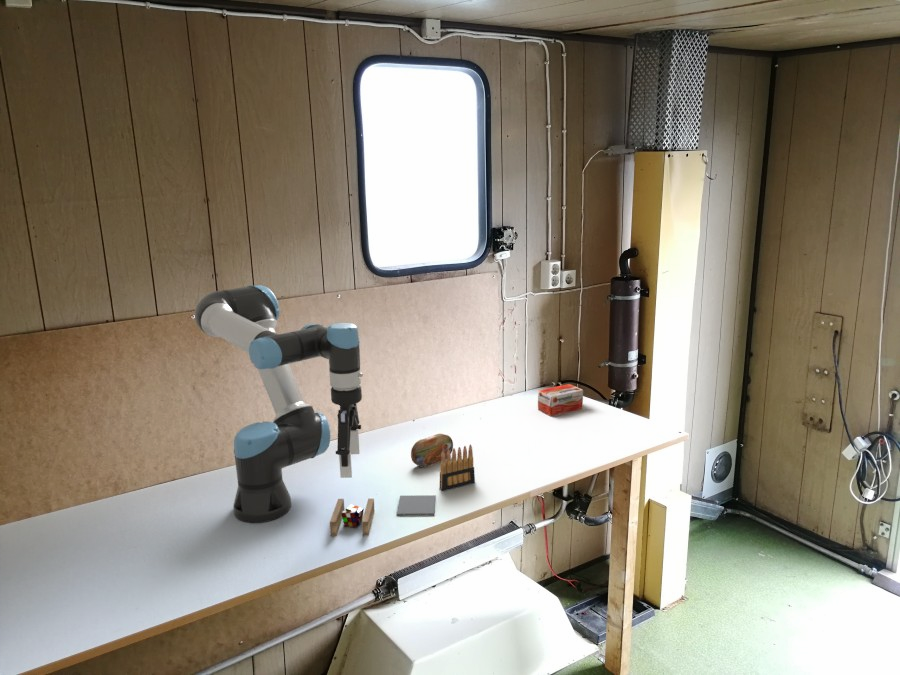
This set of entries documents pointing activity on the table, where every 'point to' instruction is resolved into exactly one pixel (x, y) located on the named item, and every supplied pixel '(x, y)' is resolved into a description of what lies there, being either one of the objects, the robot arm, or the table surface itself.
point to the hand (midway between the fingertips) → (350, 465)
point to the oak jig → (337, 517)
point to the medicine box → (560, 399)
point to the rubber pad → (416, 505)
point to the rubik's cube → (352, 516)
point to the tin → (431, 449)
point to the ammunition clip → (456, 469)
